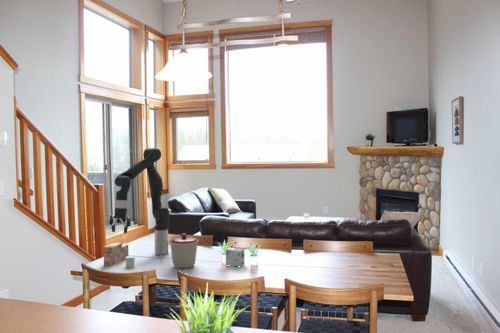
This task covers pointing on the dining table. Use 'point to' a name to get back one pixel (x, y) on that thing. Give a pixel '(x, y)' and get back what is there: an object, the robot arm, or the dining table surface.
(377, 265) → the dining table surface
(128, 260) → the sage block
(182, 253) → the canister
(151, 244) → the dining table surface
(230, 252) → the light bulb box
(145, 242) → the dining table surface
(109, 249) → the stack of blocks
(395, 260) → the dining table surface
